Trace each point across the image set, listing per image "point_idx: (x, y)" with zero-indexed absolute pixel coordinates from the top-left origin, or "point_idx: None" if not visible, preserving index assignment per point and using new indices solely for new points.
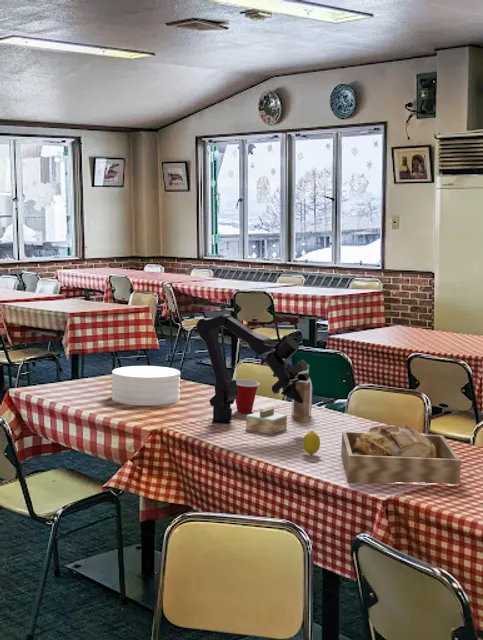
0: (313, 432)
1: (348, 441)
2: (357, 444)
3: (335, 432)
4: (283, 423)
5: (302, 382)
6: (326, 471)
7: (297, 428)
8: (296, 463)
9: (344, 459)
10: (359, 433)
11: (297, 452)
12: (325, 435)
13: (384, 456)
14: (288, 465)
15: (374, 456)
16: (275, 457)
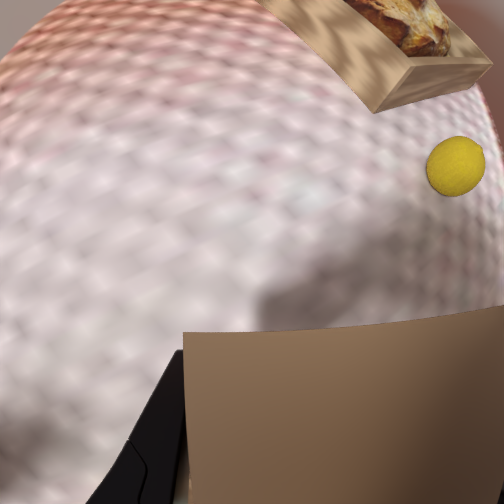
0: (476, 144)
1: (454, 57)
2: (448, 44)
3: (62, 251)
4: (189, 492)
5: (452, 464)
6: (468, 123)
7: (105, 441)
8: (486, 190)
9: (442, 86)
10: (378, 31)
11: (439, 230)
12: (142, 263)
13: (450, 20)
14: (500, 199)
15: (463, 32)
16: (494, 255)
